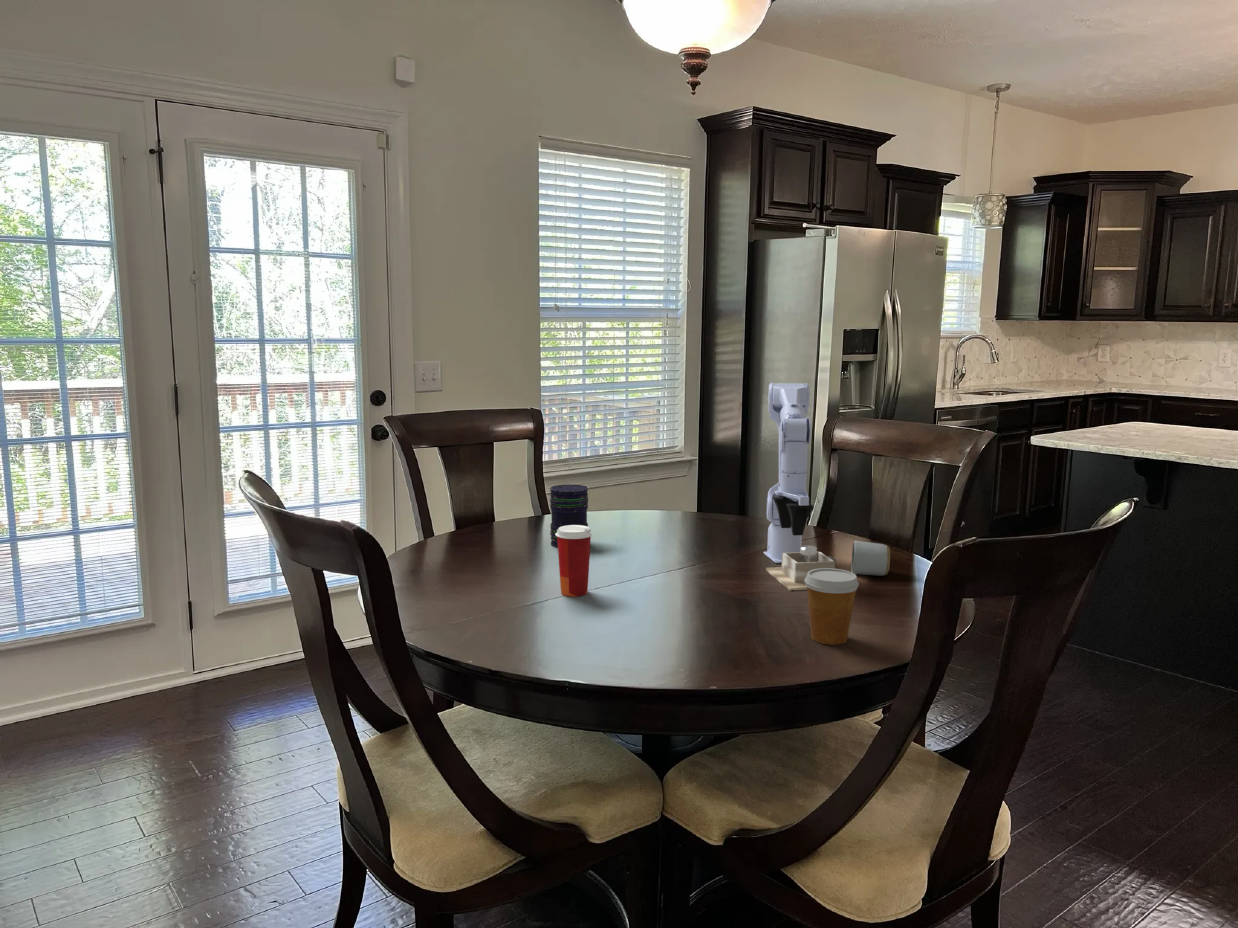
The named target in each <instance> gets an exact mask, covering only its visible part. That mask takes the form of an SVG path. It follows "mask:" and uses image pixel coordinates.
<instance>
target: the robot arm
mask: <svg viewBox="0 0 1238 928" xmlns="http://www.w3.org/2000/svg"><path fill="white" fill-rule="evenodd" d="M767 393H768V397H767V404H768V415H769V419H770V420H772V421H773V422H775V423H776V427H777V430H778V431H777V432H778V482H777V483H776V484H775V485H773V486H772V487H770V488H769V490H768V492H767V498H766V519H767V521H769V522H771V523H769V525H768V529H767V551H763V554H764V555H765V556H766V557H767V558H769V559H770V560H771V561H772V562H774V563H775V564H782V553H793V552H800V546H802V539H803V534H804V531H805V528H806V524H807V522H808V520H809V516H810V514H811V513H812V511H813V510H814V505H813V504H811V503H809V502H810V497H809V494H808V490H807V477H808V476H807V475H808V452H809V451H808V449H809V447H808V446H809V445H810V443H811V442H810V441H811V437H812V436H811V435H812V429H811V428H812V425H811V420H810V417H807V415H808V409H809V405H810V385H809V384H808V382H804V383H800V382H799V383H798V382H797V383H791V382H790V383H789V382H788V383H787V382H786V383H785V382H783V383H781V382H780V383H779V382H775V383H774V382H770V384H768V392H767Z"/></svg>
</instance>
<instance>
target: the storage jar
mask: <svg viewBox="0 0 1238 928" xmlns="http://www.w3.org/2000/svg"><path fill="white" fill-rule="evenodd" d="M588 493H589V492H588V486H586V485H583V484H582V485H581V484H557V485H553V486H550V497H549V507H550V510H551V517H550V518H551V522H550V527H549V528H550V530H549V531H550V532H549V535H550V540H551V541H550V546H551V547H553V548H556V549H558V540H557V536H556V535H555V534H556V533H557V530H558V528H559V527H562V526H567V525H582V526H587V527H589V524H588V508H589V495H588Z"/></svg>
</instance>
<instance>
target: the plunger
mask: <svg viewBox="0 0 1238 928" xmlns="http://www.w3.org/2000/svg"><path fill="white" fill-rule="evenodd" d="M817 550H818V547H817V546H816V545H812V544H811V545H808V544H807V545H806V544H804V545H801V546H800V558H802V559H806V562H810V560H814V559H816V555H817V552H818V551H817Z"/></svg>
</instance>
